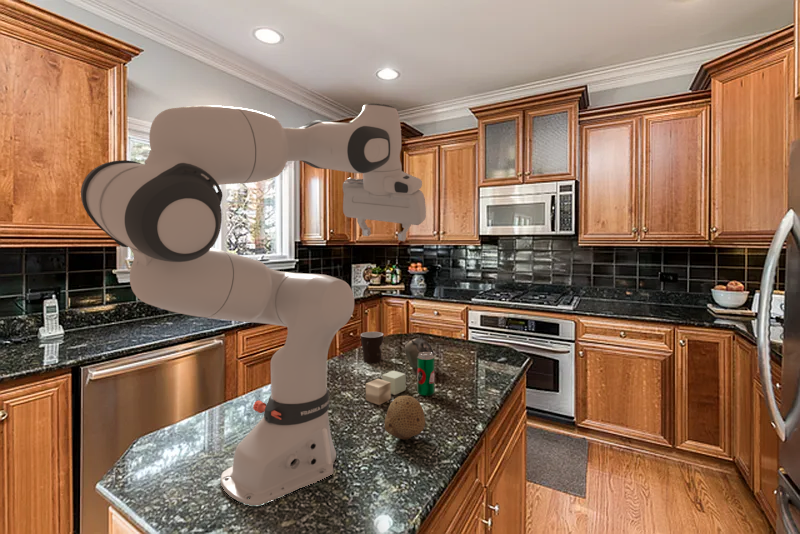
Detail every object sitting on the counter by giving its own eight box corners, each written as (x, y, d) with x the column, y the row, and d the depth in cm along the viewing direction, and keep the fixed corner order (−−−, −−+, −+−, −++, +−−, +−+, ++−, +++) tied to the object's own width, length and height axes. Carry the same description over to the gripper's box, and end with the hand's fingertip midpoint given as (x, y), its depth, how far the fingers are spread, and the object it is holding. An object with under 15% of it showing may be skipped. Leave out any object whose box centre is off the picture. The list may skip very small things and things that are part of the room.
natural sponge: (434, 439, 88) (434, 397, 87) (406, 455, 82) (406, 409, 81) (406, 426, 94) (405, 386, 94) (378, 439, 88) (378, 397, 87)
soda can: (433, 397, 111) (433, 356, 110) (416, 396, 112) (415, 355, 111) (435, 390, 116) (435, 351, 115) (418, 389, 117) (418, 350, 116)
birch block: (378, 405, 106) (378, 387, 106) (366, 400, 110) (365, 383, 109) (390, 399, 110) (390, 382, 110) (378, 395, 113) (377, 378, 113)
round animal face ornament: (432, 378, 127) (435, 367, 137) (432, 342, 126) (435, 334, 136) (402, 376, 129) (407, 365, 139) (402, 341, 128) (406, 333, 138)
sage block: (394, 395, 113) (394, 378, 113) (382, 391, 116) (382, 374, 116) (405, 390, 117) (405, 374, 117) (393, 386, 120) (393, 370, 120)
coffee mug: (370, 355, 151) (370, 330, 151) (388, 359, 146) (388, 333, 146) (350, 363, 142) (350, 337, 141) (368, 368, 137) (368, 340, 136)
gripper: (335, 180, 89) (340, 236, 94) (419, 187, 82) (419, 247, 88) (348, 175, 94) (352, 228, 100) (428, 180, 87) (427, 238, 93)
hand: (384, 237), depth 94 cm, fingers open, 8 cm apart
